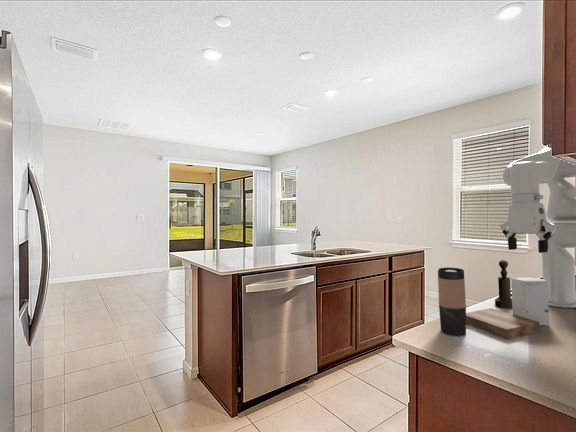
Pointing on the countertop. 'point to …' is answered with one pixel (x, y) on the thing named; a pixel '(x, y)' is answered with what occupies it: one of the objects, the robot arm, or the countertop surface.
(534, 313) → the skincare box
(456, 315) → the travel mug
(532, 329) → the walnut base board
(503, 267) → the wooden pepper mill
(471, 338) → the countertop surface
